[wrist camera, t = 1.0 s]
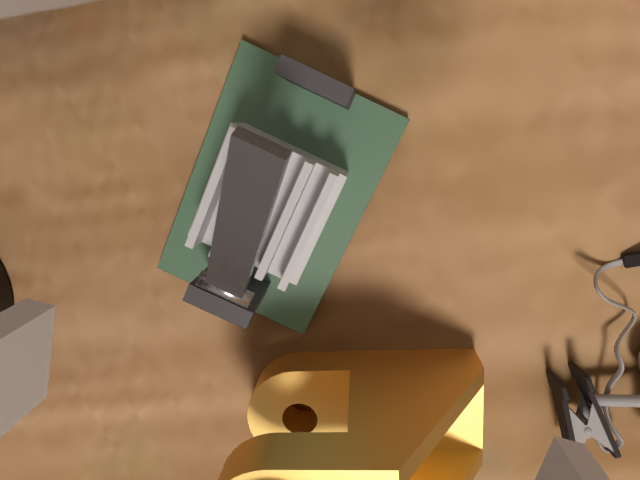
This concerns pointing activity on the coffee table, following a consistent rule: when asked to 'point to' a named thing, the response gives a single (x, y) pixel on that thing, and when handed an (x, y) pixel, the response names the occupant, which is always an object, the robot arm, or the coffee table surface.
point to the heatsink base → (308, 132)
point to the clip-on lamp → (588, 411)
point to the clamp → (365, 417)
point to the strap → (243, 213)
